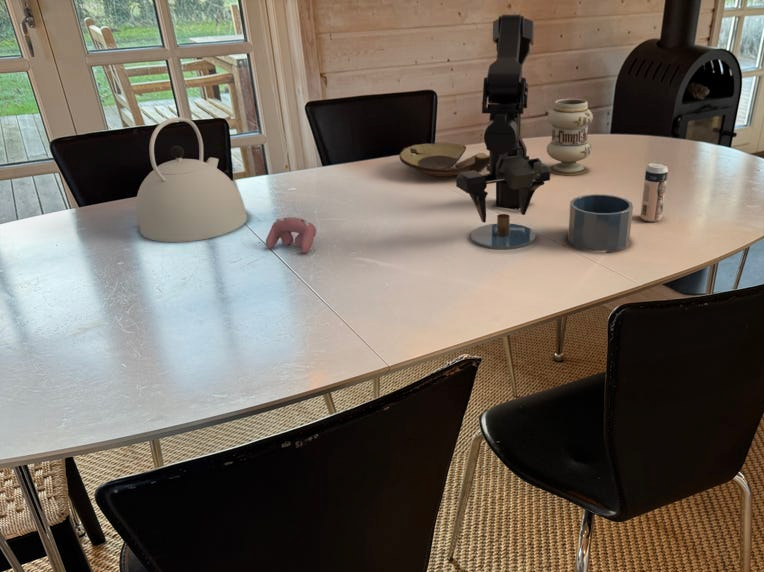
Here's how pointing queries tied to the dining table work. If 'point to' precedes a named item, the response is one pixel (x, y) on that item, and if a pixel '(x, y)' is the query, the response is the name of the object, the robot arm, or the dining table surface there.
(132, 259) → the dining table surface
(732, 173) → the dining table surface
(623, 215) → the pot
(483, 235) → the lid
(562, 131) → the apothecary jar
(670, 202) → the dining table surface
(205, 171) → the kettle
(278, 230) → the video game controller
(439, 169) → the oil lamp
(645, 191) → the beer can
